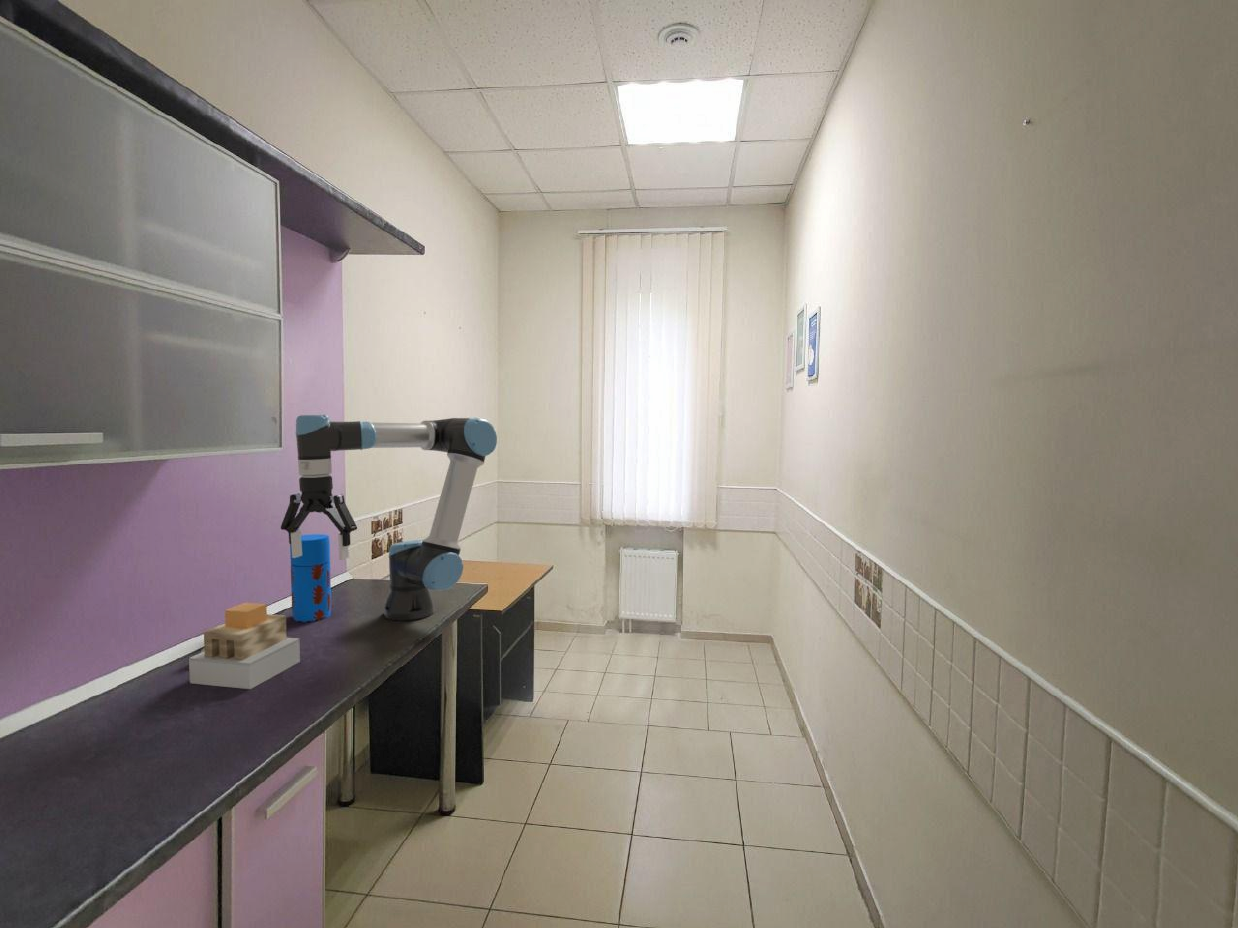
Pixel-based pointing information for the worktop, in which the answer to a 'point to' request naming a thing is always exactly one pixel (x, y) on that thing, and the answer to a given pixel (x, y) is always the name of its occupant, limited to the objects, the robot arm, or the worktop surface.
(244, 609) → the orange square block
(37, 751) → the worktop surface
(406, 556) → the robot arm
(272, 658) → the dock
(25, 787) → the worktop surface
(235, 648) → the pallet
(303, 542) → the thermos
